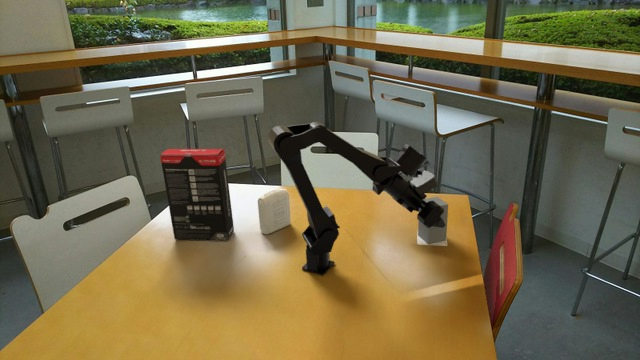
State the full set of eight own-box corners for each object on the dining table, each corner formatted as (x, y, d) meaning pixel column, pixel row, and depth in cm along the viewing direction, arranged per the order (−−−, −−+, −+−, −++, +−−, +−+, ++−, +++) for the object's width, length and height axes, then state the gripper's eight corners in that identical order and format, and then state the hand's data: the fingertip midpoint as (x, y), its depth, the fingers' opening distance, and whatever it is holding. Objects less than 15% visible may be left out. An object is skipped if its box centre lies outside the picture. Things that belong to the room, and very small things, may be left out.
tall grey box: (428, 244, 130) (429, 207, 126) (417, 235, 135) (419, 199, 131) (446, 240, 132) (448, 204, 127) (435, 231, 137) (437, 196, 132)
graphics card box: (236, 231, 145) (225, 146, 135) (230, 242, 139) (218, 154, 129) (182, 231, 147) (167, 146, 137) (173, 242, 141) (157, 154, 131)
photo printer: (284, 220, 151) (281, 184, 146) (293, 224, 148) (290, 187, 144) (258, 231, 145) (254, 194, 140) (267, 236, 142) (263, 198, 137)
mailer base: (447, 250, 129) (448, 234, 128) (417, 249, 131) (417, 232, 129) (445, 236, 137) (446, 220, 135) (417, 235, 138) (417, 219, 136)
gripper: (438, 177, 115) (474, 210, 122) (402, 154, 132) (436, 184, 139) (408, 212, 116) (446, 243, 123) (376, 185, 133) (411, 213, 140)
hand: (435, 218), depth 131 cm, fingers open, 9 cm apart
